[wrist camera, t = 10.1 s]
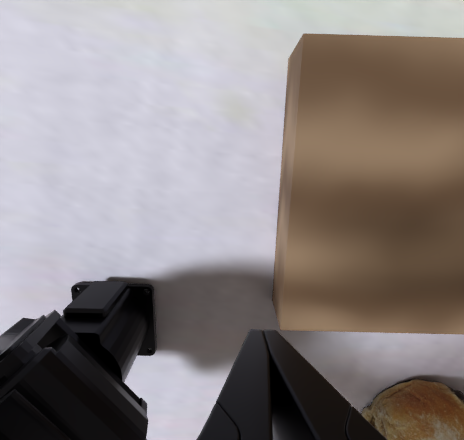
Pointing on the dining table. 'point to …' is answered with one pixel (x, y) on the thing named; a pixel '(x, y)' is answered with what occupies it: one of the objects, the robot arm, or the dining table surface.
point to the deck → (372, 186)
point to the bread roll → (418, 412)
